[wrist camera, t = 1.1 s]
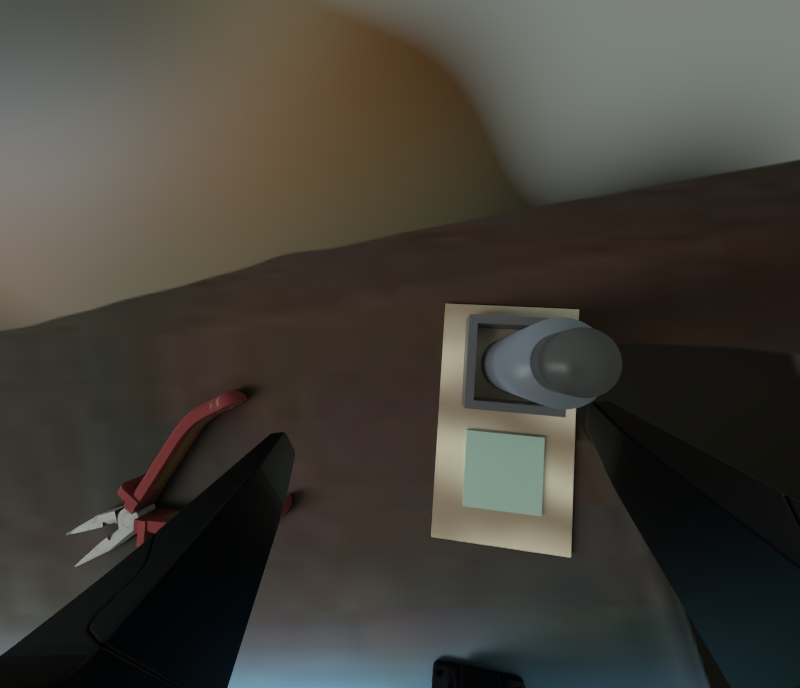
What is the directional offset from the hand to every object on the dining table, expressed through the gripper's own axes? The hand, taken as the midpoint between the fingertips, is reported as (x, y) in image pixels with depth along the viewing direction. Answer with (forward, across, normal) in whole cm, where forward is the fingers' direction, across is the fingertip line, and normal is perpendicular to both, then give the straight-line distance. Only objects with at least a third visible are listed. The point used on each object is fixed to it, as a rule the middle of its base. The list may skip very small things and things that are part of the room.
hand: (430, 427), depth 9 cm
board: (+11, -5, +11) cm, 16 cm away
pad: (+8, -4, +14) cm, 17 cm away
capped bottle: (+13, -6, +7) cm, 16 cm away
